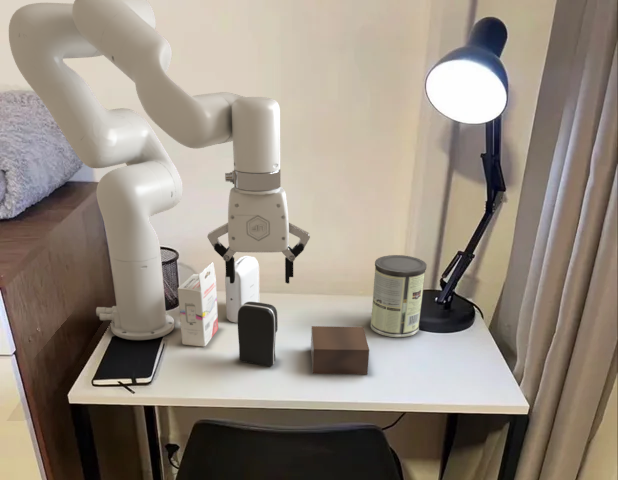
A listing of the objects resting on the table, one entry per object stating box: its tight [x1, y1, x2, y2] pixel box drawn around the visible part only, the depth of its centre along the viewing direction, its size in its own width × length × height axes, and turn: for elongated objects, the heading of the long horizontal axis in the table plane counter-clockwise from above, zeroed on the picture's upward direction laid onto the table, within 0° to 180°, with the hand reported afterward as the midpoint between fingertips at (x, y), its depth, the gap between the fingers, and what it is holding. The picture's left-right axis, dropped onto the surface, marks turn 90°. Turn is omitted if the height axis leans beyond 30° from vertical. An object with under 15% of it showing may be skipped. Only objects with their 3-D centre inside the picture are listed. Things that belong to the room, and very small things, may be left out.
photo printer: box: [224, 255, 260, 324], centre depth 140 cm, size 10×4×12 cm, turn 160°
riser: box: [310, 325, 370, 375], centre depth 124 cm, size 10×10×5 cm
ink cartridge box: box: [177, 261, 219, 347], centre depth 129 cm, size 9×5×15 cm, turn 168°
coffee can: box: [370, 254, 428, 338], centre depth 136 cm, size 10×10×14 cm
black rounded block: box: [237, 301, 279, 367], centre depth 122 cm, size 7×4×11 cm, turn 74°
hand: (260, 280), depth 117 cm, fingers open, 9 cm apart
